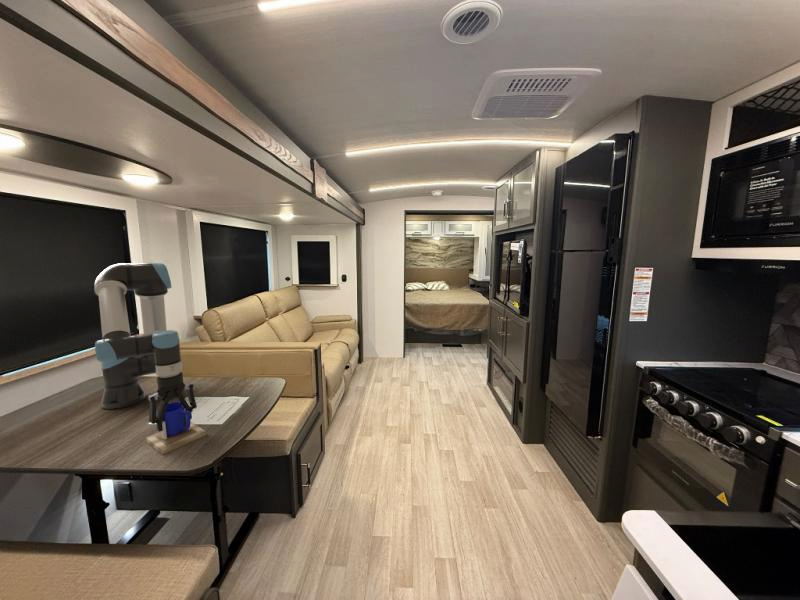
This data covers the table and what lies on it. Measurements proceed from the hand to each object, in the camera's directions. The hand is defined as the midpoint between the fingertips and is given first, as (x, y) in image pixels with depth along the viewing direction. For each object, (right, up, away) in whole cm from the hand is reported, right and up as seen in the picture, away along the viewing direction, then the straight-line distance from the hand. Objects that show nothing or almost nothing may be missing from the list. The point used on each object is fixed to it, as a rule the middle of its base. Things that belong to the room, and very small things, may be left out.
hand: (176, 432), depth 115 cm
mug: (0, 0, +1) cm, 1 cm away
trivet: (0, -2, 0) cm, 2 cm away
